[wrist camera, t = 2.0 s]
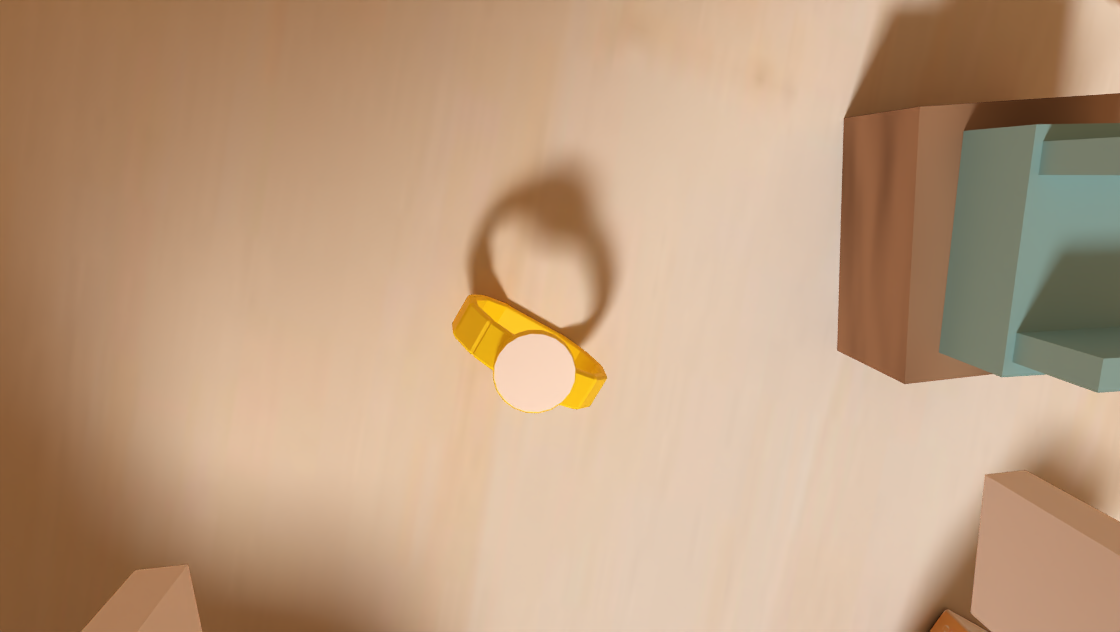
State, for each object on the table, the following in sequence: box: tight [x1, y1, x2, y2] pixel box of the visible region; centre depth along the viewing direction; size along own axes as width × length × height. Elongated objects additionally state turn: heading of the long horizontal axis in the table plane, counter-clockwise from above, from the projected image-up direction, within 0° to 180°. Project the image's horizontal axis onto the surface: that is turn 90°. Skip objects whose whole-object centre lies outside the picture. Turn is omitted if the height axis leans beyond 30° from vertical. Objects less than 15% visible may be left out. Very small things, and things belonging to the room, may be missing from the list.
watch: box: [452, 294, 607, 413], centre depth 24 cm, size 6×3×6 cm, turn 59°
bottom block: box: [837, 93, 1120, 384], centre depth 26 cm, size 8×10×5 cm
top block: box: [939, 123, 1120, 393], centre depth 20 cm, size 5×8×6 cm, turn 2°
